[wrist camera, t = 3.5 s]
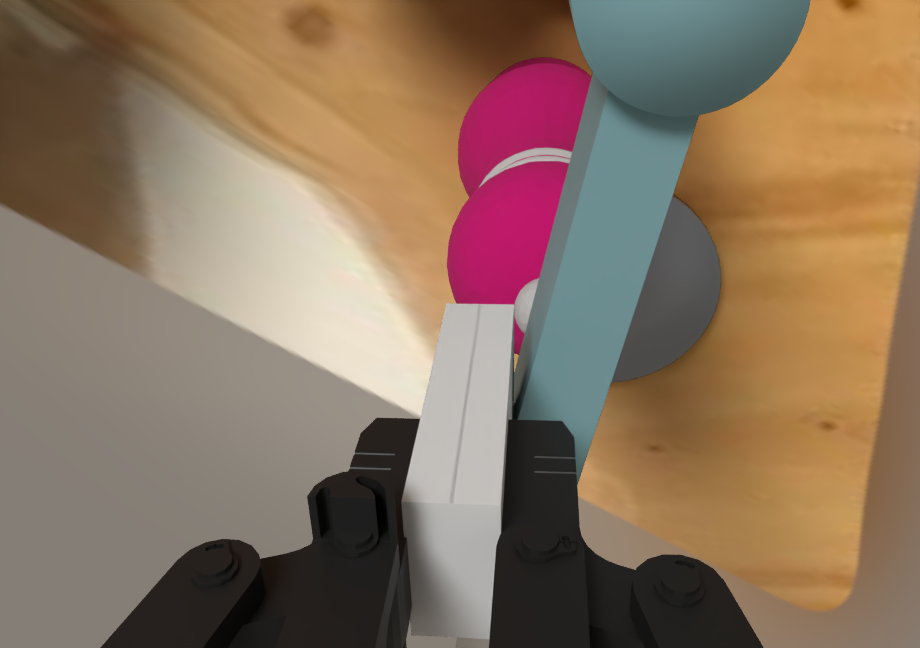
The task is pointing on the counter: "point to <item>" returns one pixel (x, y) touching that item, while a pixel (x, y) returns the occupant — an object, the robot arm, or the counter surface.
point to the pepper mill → (513, 182)
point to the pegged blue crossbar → (630, 182)
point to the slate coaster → (672, 296)
